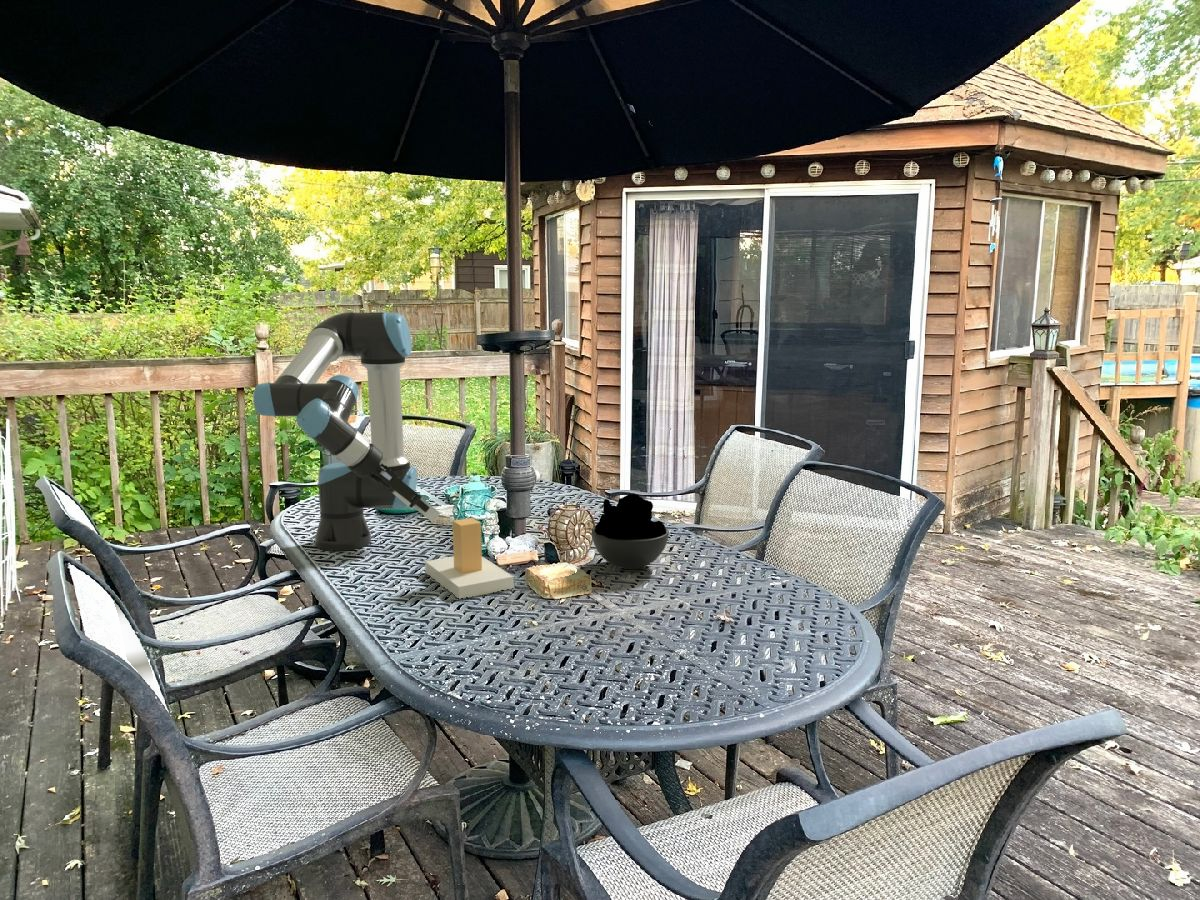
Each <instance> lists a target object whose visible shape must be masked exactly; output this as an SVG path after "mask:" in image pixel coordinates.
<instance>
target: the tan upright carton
mask: <svg viewBox="0 0 1200 900" xmlns="http://www.w3.org/2000/svg"><path fill="white" fill-rule="evenodd" d="M452 543H453V548H452V549H453V551H452V552H453V557H454V568H455V569H457V570H458V571H459V572H461V573H468V572H473V571H479V570H482V557H483V556H482V555H483V554H482V552H483V551H482V522H481V521H479V520H476V519H475V518H473V517H469V518H462V519H455V520H452Z"/></svg>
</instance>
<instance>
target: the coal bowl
mask: <svg viewBox="0 0 1200 900" xmlns="http://www.w3.org/2000/svg"><path fill="white" fill-rule="evenodd" d="M602 505H603V511H602V512H603V514H601V516H600V518H599V520H598V522H597V523H596V524H595V525H594V526H593V527H594V529H593V530H592V529H591V531H592V532H591V538H592V542H593V545H594V547H595V548H596V549H595V550H596V551H597V553H599V555H600V556H601V557H602V558H603V559H604V560H605V561H606V562H608V563H609V564H610V565H612V566H615V567H617V568H619V569H620V568H621V569H623V570H624V569H625V570H636V569H640V568H643V567H646V566H648V565H650V564H652V563H653V562H655V561H656V560H657V559H658V558H659V557H660V556H661V555H662V553H663V551H664V550H665V549H666V546H667V544H668V540H669V535H670V531H669V529H668V527H666V525H665V524H664V522H662V521H661V520H657V521H653V520H652V518H653V512H652V511H653V508H654V503H653V502H652V501H651V500H648V499H645V498H643V497H642V496H641V495H639V494H636V493H628V494H627V495H625V496H623V497H620V498H618V503H617V504H616V505H613V504H611V501H610V499H608V498H604V499H603V503H602Z"/></svg>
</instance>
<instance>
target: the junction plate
mask: <svg viewBox="0 0 1200 900" xmlns="http://www.w3.org/2000/svg"><path fill="white" fill-rule="evenodd" d="M424 564H425V567H424V568H425V573H426V574H427V575H428V576H429V575H430V576H431V577H430V576H429V577H430V578H432V579H433V580H434V579H435V580H434V581H435V582H436V583H438V582H439V583H440V584H439V583H438V584H439V585H441V586H442V587H443V586H444V587H445V589H446V590H447V589H448V590H449V591H450V592H449V591H448V590H447V591H448V592H449V593H451V592H452V593H453V594H454V595H455V596H454V595H453V594H452V593H451V594H452V595H453V596H454V597H455V598H457V599H458V598H459V599H458V600H460V599H461V598H463V599H467V598H466V597H468V598H472V596H473V597H477V596H478V597H479V596H482V595H488V594H493V592H494V593H498V592H497V591H499V592H502V591H501V590H504V591H508V590H507V589H509V590H513V589H512V588H514V586H515V585H514V584H515V583H514V576H513V575H512V574H510V573H509V572H507V571H506V570H504V569H503V568H501V567H500V566H498V565H496V564H494V563H493V562H492V561H490V560H488V559H487V558H485V557H484V556H482V570H479V571H473V572H468V573H461V572H459V571H458V570H457V569H455V568H454V556H448V557H442V558H438V559H436V558H435V559H431V560H425V563H424ZM444 587H443V588H444ZM461 600H462V599H461Z"/></svg>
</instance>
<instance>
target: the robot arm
mask: <svg viewBox="0 0 1200 900" xmlns="http://www.w3.org/2000/svg"><path fill="white" fill-rule="evenodd" d="M411 354H412V336H411V332H410V327H409V325H408V322H407V320H406V318H405V317H404V316H403V315H402V314H401V313H399V312H398V313H396V312H387V311H385V312H378V311H377V312H375V311H374V312H373V311H372V312H353V311H351V312H348V311H347V312H342V313H338V314H335V315H333V316H330V317H328V318H326V319H325V320H323V321H321V322H320V323H318V324H317V325H315V327H314V328H313V329H311V330H310V332H309V333H308V334H307V336H306V338H305V344H304V345H303V347H301V349H300V350H299V352H298V353H297V354H296V355H295V357H294V358H293V359H292V360H291V361H290V362H289V364H288V365H287V366H286V367H285V368H284V370H283V371H282V373H281V374H280V375H279V376H278V377H277V379H276V380H275V381H274V382H269V381H268V382H264V383H263V382H262V383H259V384H257V385H256V386H255V387H254V391H253V395H252V396H253V397H252V398H253V399H252V400H253V405H254V409H255V412H256V413H257V414H258V415H260V416H264V417H274V418H276V417H296V419H295V420H296V425H297V426H298V427H299V428H300V429H301V430H302V431H303V432H304V433H305V434H306V436H308V437H309V438H311V439H312V440H314V441H315V442H316V443H317V444H319V445H320V446H322V448H324V449H325V450H326V451H327V452H328V453H330V454H331V455H332V456H333V457H335V459H334V461H335V462H333V463H332V462H331V463H328V464H326V465H323V466H322V467H321V468H320V469H318V476H317V477H318V482H317V486H318V501H319V513H320V514H319V515H320V517H319V518H320V520H319V523H318V526H317V530H316V532H315V533H316V534H315V537H314V543H315V547H316V548H317V549H320V550H324V551H333V552H334V551H335V552H336V551H337V552H340V551H341V552H342V551H350V550H351V551H352V550H355V549H360V548H364V547H366V546H368V545H370V544H371V543H372V534H371V530H370V527H369V526H368V523H367V521H366V519H365V516H364V509H392V510H395V509H406V508H409V509H410V510H414V509H416V510H417V512H420V514H421V515H422V516H424V517H425V518H427V520H429V521H430V522H431V523H434V522H435V521H436V519H437V518H438V517H439V516H440V514H441V512H439V511H438V510H437V509H436V508H434V506H432V505H431V504H430V503H429V502H428V501H426V500H425V498H423V497H422V495H421V494H419V493H417V492H416V489H417V486H418V485H417V484H418V471H417V468H416V467H415V466H413V465H412V466H411V461H410V458H408V456H406V455H405V452H404V449H405V448H404V433H403V431H404V430H403V429H404V428H403V410H402V407H403V406H402V405H403V404H402V388H401V386H402V385H401V384H402V383H401V368H402V367H403V366H404V365H405V363H406V358H407V357H409V356H410V355H411ZM341 357H360V364H361V365H362V367H364V368H365V369H366V370H367V371H366V372H367V388H368V390H367V391H368V405H369V408H368V409H369V422H370V440H369V439H368V438H367V437H365V436H364V435H363V434H362V433H361V432H360V431H359V430H357V429H356V428H354V427H353V426H352V425H351V423H349V422H348V421H349V419H350V417H351V415H352V412H353V410H354V407H355V406H356V404H357V400H358V396H359V392H360V391H359V387H358V384H357V383H356V381H354V379H353V378H351V377H349V376H347V375H343V374H336V375H333V376H332V377H330V378H329V379H328V380H327V381H326V383H318V382H319V381H318V380H320V378H321V376H322V375H323V374H324V372H325V371H326V370H327V368H328V367H329V366H330V365H331V363H332V362H335V361H337V360H339V358H341ZM370 441H371V443H370Z"/></svg>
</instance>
